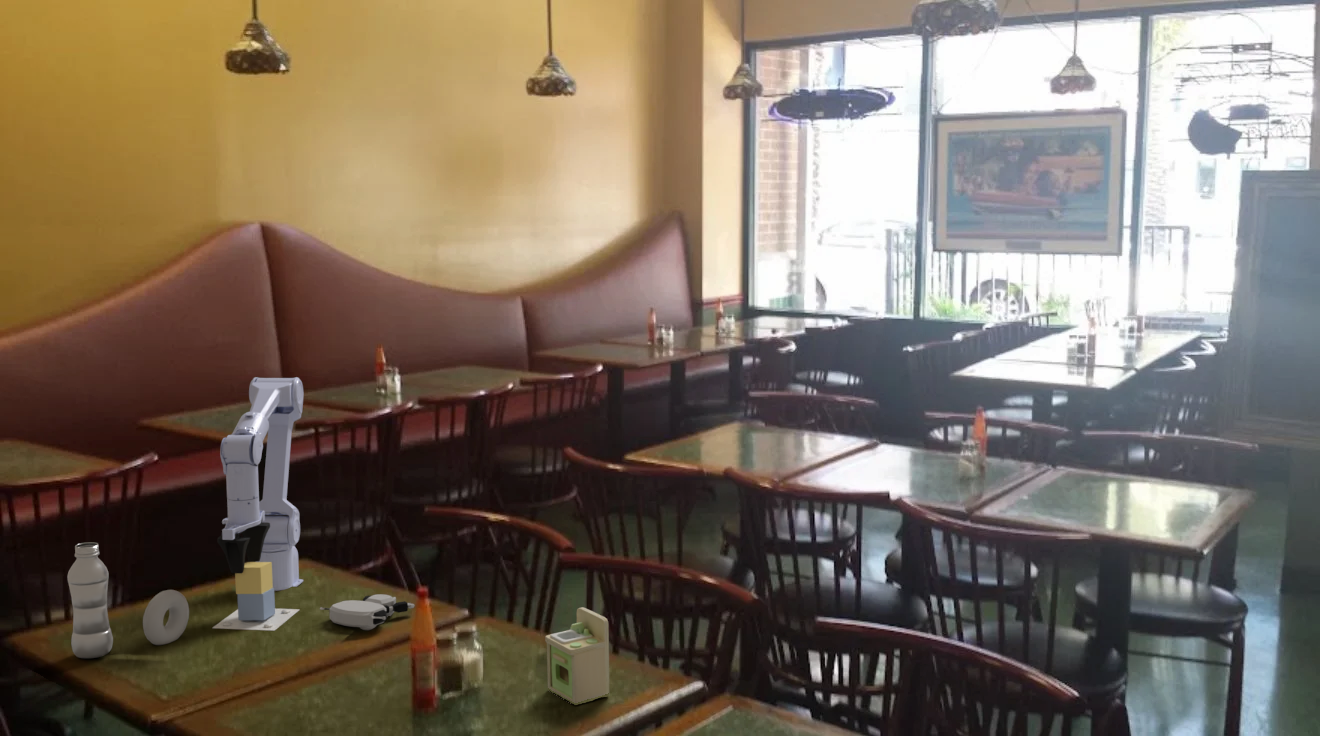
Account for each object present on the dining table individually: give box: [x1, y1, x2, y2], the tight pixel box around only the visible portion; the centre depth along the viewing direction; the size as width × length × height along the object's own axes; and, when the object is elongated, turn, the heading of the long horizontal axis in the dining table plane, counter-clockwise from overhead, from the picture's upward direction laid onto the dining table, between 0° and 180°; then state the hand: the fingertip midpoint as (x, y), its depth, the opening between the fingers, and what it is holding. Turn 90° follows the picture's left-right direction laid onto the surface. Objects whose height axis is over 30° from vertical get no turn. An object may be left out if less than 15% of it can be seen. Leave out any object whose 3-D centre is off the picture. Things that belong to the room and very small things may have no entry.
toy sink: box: [544, 606, 610, 703], centre depth 192 cm, size 8×7×13 cm
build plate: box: [212, 607, 300, 632], centre depth 226 cm, size 12×12×1 cm
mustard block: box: [234, 561, 273, 595], centre depth 226 cm, size 5×5×5 cm
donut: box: [142, 589, 190, 646], centre depth 213 cm, size 10×4×10 cm, turn 161°
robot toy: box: [319, 593, 415, 631], centre depth 227 cm, size 12×4×15 cm
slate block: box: [236, 588, 276, 620], centre depth 226 cm, size 5×5×5 cm
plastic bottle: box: [67, 542, 114, 659], centre depth 207 cm, size 6×7×20 cm
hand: (245, 566), depth 227 cm, fingers open, 7 cm apart
